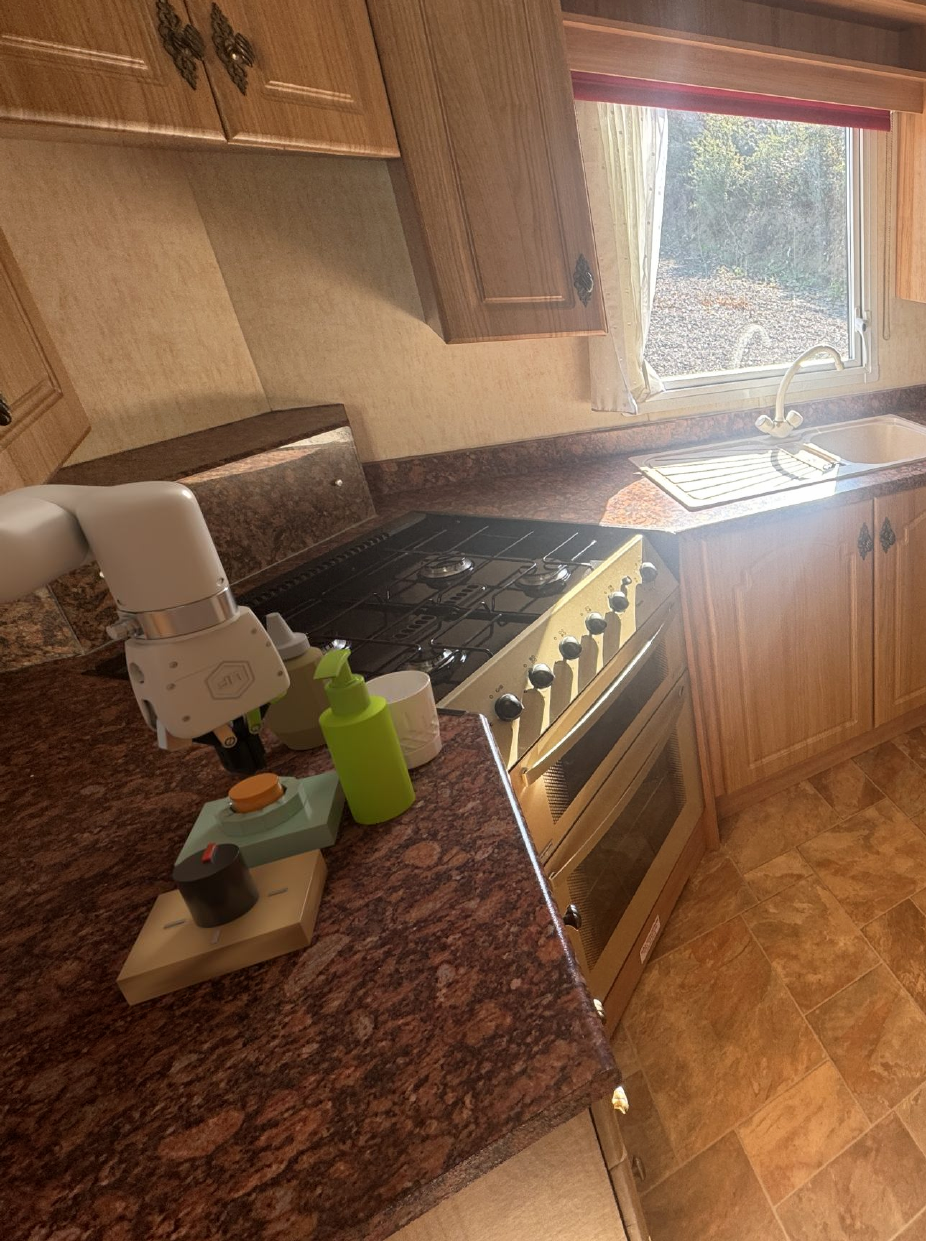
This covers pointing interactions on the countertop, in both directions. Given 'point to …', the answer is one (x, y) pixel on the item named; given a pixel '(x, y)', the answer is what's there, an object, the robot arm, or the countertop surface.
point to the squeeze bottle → (297, 689)
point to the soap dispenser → (363, 744)
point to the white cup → (411, 713)
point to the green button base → (274, 822)
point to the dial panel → (225, 931)
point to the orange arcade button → (256, 793)
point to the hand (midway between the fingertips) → (248, 768)
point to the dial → (216, 885)
